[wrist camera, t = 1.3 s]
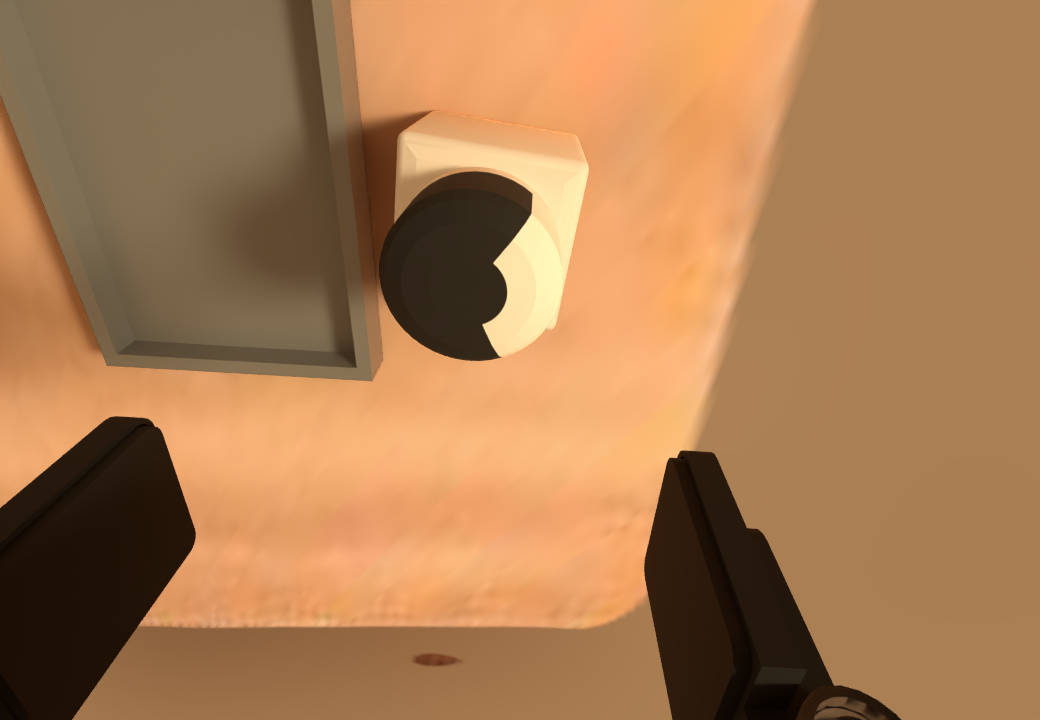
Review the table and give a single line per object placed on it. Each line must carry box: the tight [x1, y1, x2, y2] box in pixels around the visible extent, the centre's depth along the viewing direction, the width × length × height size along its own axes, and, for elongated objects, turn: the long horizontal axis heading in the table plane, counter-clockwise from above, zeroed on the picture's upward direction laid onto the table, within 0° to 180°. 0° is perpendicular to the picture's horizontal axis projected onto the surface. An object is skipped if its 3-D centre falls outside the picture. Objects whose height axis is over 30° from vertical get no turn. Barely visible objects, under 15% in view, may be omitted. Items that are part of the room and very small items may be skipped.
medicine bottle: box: [379, 110, 588, 361], centre depth 23 cm, size 7×7×12 cm
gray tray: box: [0, 0, 383, 381], centre depth 27 cm, size 20×15×2 cm
